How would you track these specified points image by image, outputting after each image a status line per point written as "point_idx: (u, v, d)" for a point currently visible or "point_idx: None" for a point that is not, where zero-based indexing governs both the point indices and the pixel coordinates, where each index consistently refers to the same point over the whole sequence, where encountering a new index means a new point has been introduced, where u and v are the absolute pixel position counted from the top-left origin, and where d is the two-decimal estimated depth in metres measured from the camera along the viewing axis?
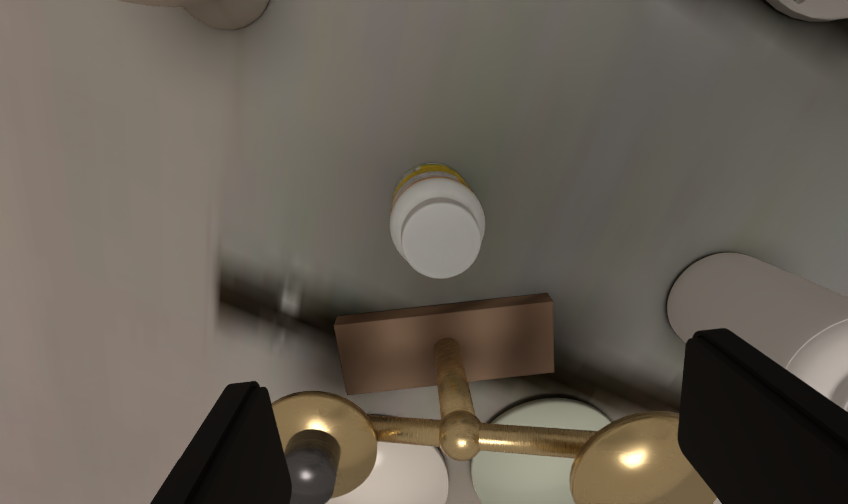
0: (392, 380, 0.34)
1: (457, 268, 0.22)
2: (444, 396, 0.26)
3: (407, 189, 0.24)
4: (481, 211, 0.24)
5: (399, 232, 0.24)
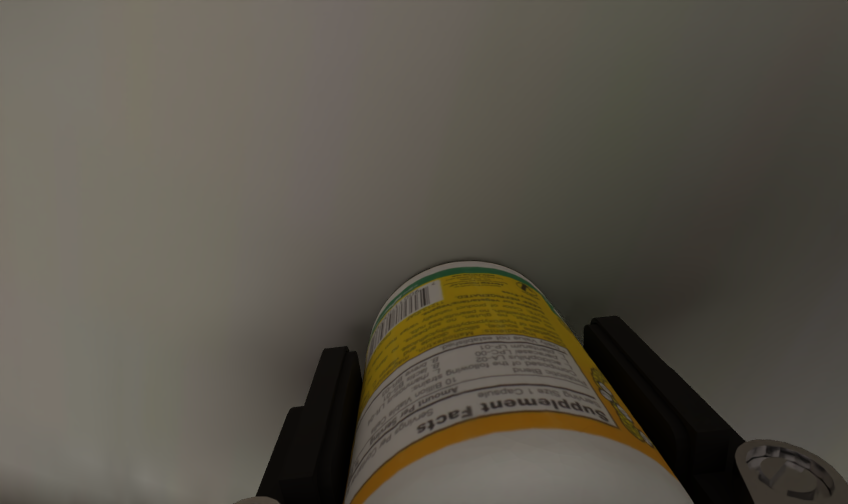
0: None
1: None
2: None
3: (401, 483, 0.05)
4: None
5: None
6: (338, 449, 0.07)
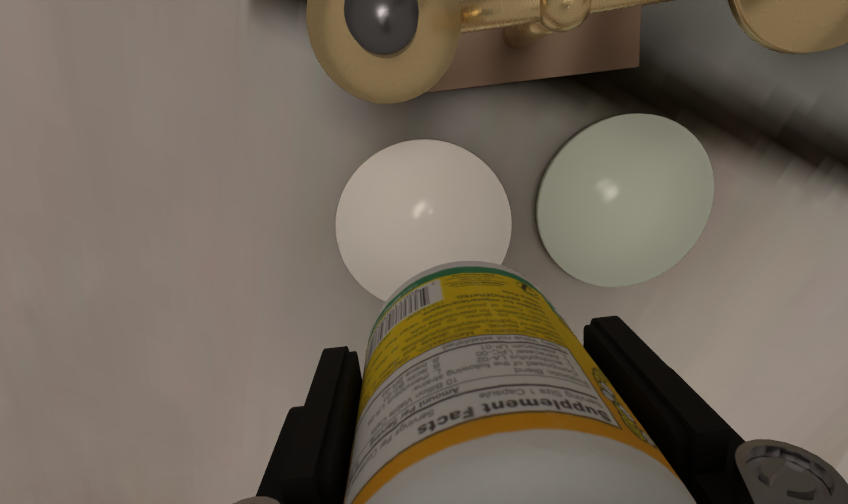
0: (452, 74, 0.29)
1: None
2: None
3: (403, 485, 0.05)
4: None
5: None
6: (338, 449, 0.07)
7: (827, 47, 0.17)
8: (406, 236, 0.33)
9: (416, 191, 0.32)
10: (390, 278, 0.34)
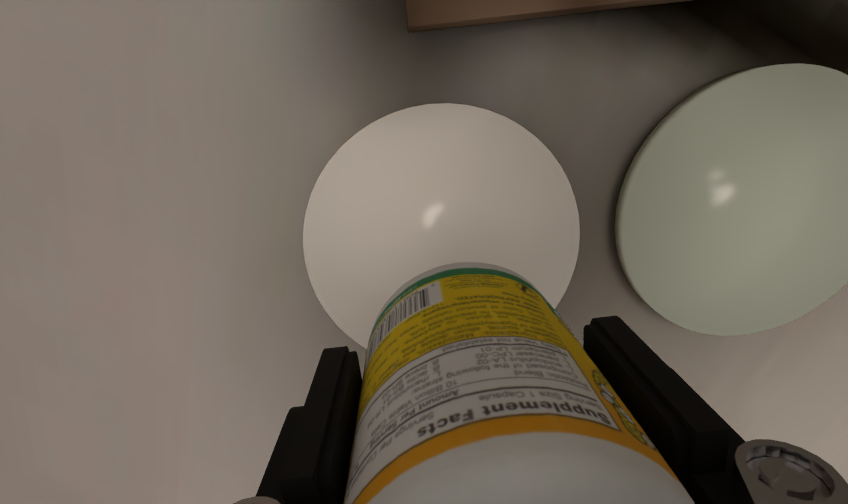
0: None
1: None
2: None
3: (402, 488, 0.05)
4: None
5: None
6: (338, 449, 0.07)
7: None
8: (414, 258, 0.21)
9: (431, 187, 0.20)
10: None
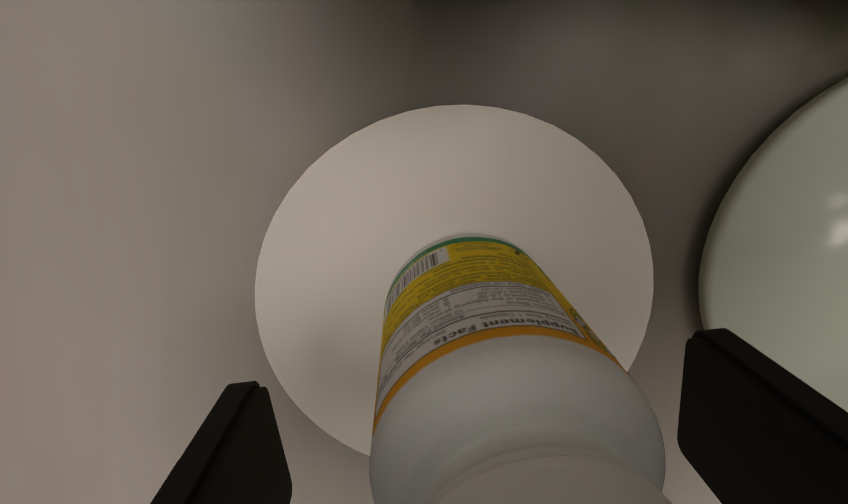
0: None
1: None
2: None
3: (424, 375, 0.07)
4: (661, 440, 0.07)
5: None
6: None
7: None
8: None
9: (441, 228, 0.14)
10: None
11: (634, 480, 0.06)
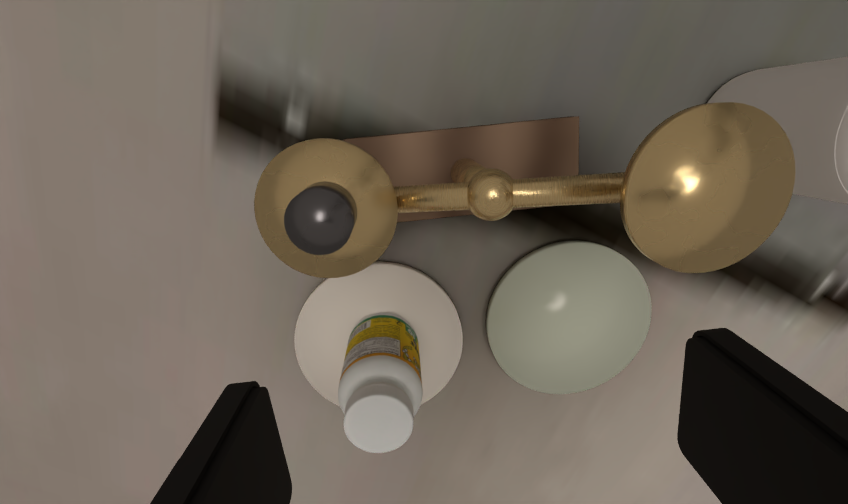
0: None
1: (393, 444, 0.26)
2: (469, 174, 0.24)
3: (352, 366, 0.27)
4: (418, 384, 0.27)
5: (345, 404, 0.27)
6: None
7: (711, 269, 0.19)
8: None
9: (371, 310, 0.33)
10: None
11: (395, 388, 0.25)
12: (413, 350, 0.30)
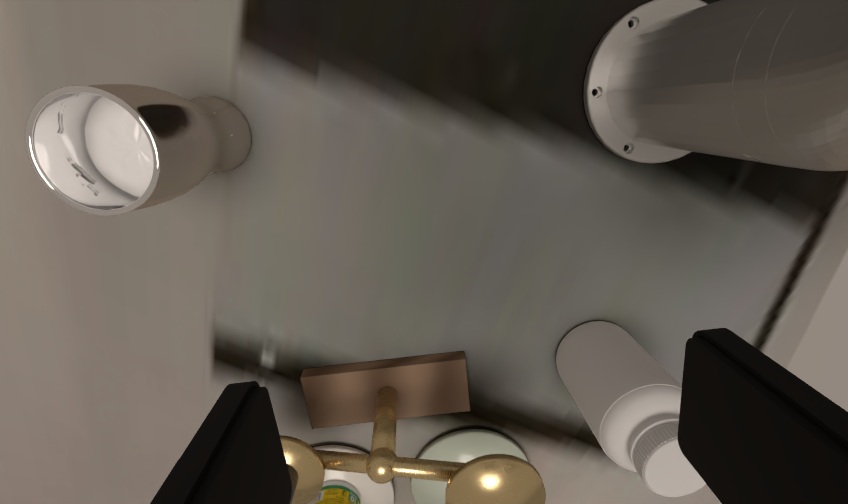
0: (346, 417, 0.44)
1: None
2: (375, 436, 0.37)
3: None
4: None
5: None
6: None
7: None
8: None
9: (326, 478, 0.47)
10: None
11: None
12: None
